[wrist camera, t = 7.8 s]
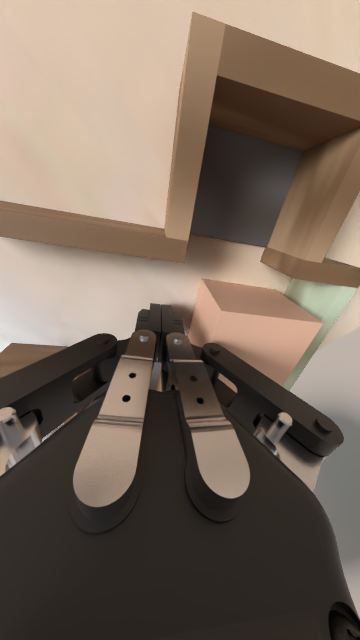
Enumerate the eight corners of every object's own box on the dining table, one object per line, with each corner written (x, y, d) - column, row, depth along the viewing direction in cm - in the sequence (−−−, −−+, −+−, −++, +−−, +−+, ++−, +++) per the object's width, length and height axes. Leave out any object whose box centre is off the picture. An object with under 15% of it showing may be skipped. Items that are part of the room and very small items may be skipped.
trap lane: (-111, 2, 7) (-371, -197, 4) (371, 145, 11) (473, 115, 7) (31, 400, 18) (1, 444, 15) (240, 404, 22) (255, 440, 18)
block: (201, 278, 14) (221, 310, 9) (275, 289, 15) (323, 323, 10) (185, 344, 17) (195, 391, 12) (248, 349, 18) (276, 394, 13)
